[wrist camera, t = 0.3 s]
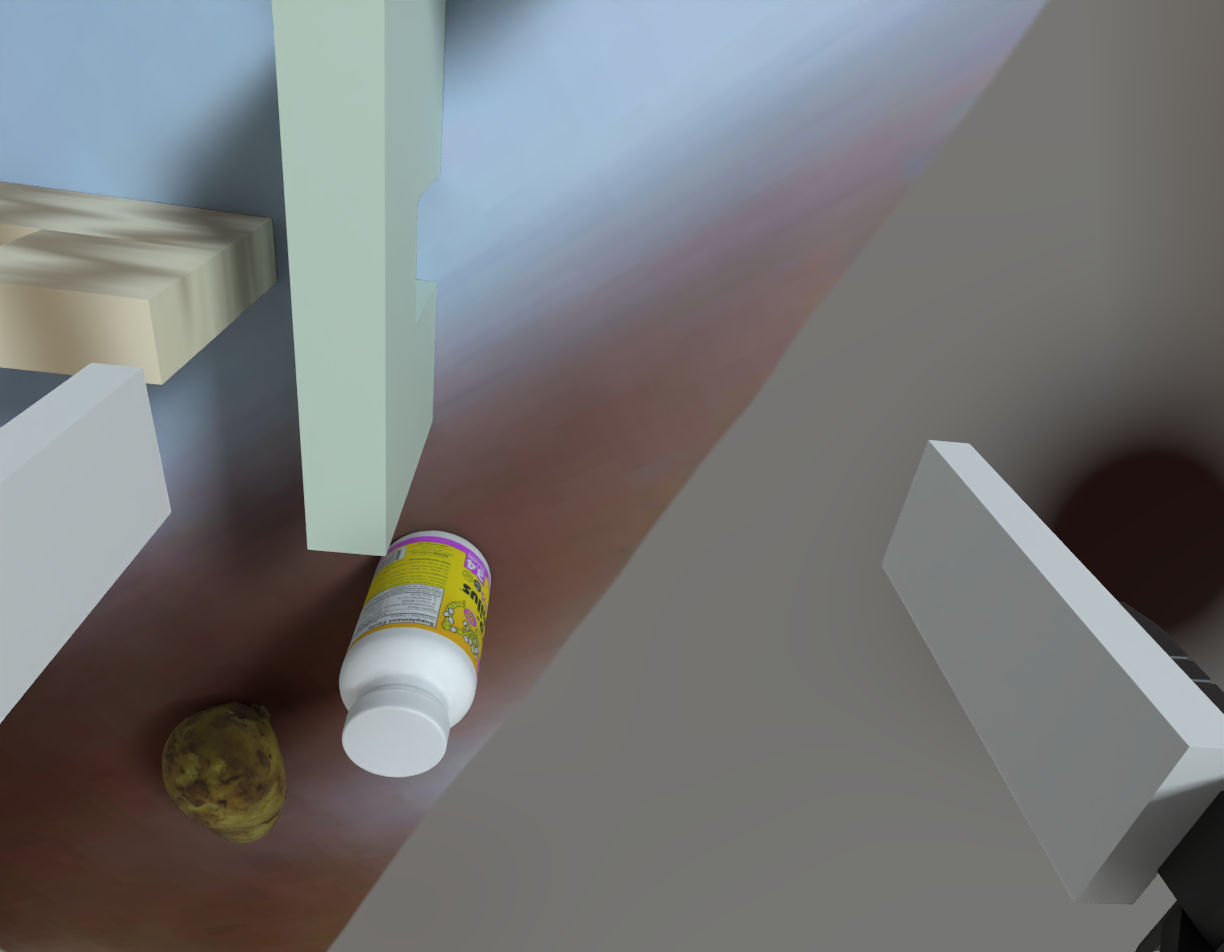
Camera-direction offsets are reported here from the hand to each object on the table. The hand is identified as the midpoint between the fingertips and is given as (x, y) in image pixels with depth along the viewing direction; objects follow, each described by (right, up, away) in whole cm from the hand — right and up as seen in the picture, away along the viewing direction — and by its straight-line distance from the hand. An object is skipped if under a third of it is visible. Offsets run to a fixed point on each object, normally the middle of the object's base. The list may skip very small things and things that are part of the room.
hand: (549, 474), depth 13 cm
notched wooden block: (-24, +11, +22) cm, 34 cm away
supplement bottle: (-9, -6, +33) cm, 34 cm away
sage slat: (-8, +12, +22) cm, 26 cm away
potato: (-23, -17, +39) cm, 48 cm away
